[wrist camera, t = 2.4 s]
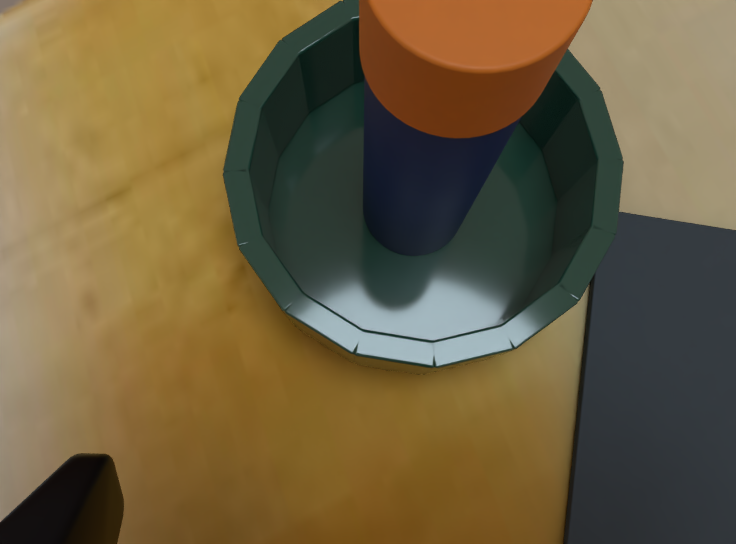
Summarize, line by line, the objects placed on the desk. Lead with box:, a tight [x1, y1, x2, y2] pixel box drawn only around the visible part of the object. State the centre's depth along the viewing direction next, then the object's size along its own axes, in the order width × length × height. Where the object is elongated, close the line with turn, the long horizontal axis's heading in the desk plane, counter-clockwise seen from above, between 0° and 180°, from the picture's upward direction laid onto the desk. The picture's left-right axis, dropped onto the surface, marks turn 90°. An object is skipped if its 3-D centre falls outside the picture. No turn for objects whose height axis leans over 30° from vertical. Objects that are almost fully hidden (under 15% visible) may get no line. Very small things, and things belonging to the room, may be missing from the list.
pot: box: [223, 0, 624, 375], centre depth 20 cm, size 10×10×4 cm
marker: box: [359, 0, 593, 256], centre depth 16 cm, size 3×3×12 cm
